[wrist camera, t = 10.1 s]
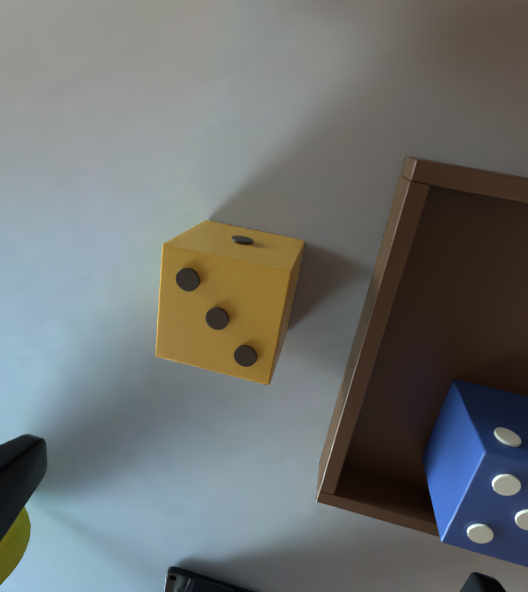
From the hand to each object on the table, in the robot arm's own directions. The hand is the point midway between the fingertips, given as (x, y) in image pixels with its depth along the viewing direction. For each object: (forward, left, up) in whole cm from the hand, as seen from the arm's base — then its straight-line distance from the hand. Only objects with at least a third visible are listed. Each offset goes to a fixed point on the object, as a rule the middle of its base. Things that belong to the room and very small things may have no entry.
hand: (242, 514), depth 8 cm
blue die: (-4, -9, -10) cm, 14 cm away
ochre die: (+1, +3, -11) cm, 11 cm away
